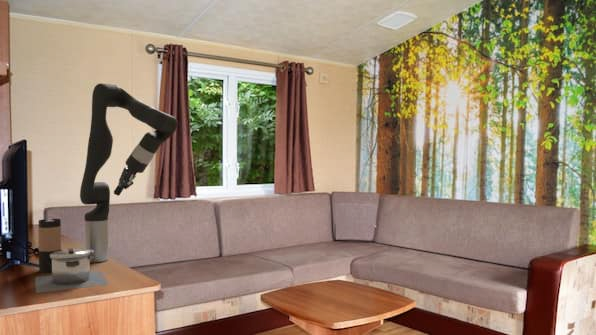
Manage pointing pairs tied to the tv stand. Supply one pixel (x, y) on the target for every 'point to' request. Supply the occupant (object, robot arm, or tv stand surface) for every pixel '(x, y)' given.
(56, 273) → the pot
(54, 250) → the travel mug
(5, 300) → the tv stand surface
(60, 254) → the lid
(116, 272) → the tv stand surface
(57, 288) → the mat
